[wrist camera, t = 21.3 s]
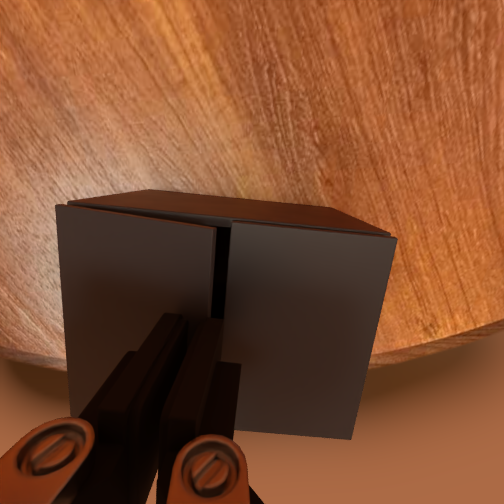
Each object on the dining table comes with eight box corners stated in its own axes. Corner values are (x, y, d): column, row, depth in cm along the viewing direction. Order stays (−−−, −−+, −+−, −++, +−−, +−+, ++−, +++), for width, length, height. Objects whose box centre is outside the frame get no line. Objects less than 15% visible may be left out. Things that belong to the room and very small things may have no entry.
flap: (76, 411, 12) (70, 416, 12) (62, 203, 10) (54, 204, 10) (201, 456, 11) (198, 463, 11) (217, 227, 9) (213, 228, 8)
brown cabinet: (147, 314, 21) (69, 417, 12) (148, 189, 19) (53, 202, 10) (311, 330, 21) (352, 441, 12) (332, 207, 19) (400, 237, 10)
